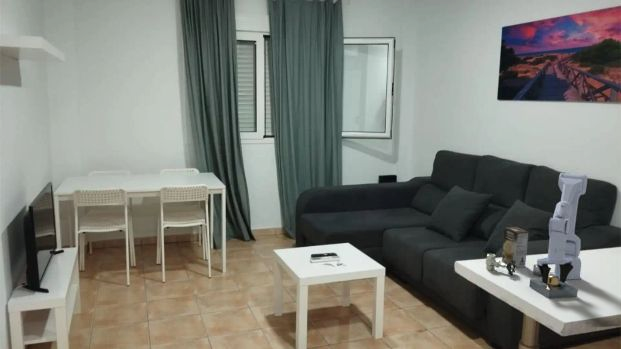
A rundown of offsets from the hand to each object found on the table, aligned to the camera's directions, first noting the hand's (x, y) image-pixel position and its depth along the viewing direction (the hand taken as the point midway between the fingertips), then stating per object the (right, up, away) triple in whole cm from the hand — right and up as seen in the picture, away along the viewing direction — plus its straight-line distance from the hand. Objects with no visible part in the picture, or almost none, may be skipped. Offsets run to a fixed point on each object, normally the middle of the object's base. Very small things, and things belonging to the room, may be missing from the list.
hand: (553, 282), depth 196 cm
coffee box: (-2, +1, +33) cm, 33 cm away
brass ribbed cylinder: (0, -4, +1) cm, 4 cm away
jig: (0, -4, +1) cm, 4 cm away
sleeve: (+3, -1, +19) cm, 19 cm away
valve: (-13, -1, +22) cm, 26 cm away
